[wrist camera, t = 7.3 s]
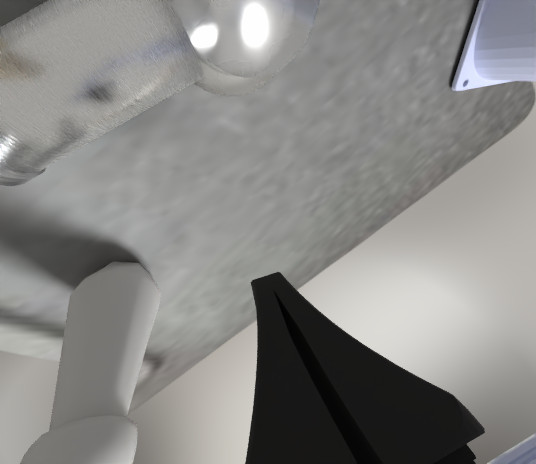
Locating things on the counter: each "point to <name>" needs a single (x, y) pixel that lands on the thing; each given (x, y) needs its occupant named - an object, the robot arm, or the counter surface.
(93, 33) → the elbow
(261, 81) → the duct stub
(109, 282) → the salt shaker
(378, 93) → the counter surface
